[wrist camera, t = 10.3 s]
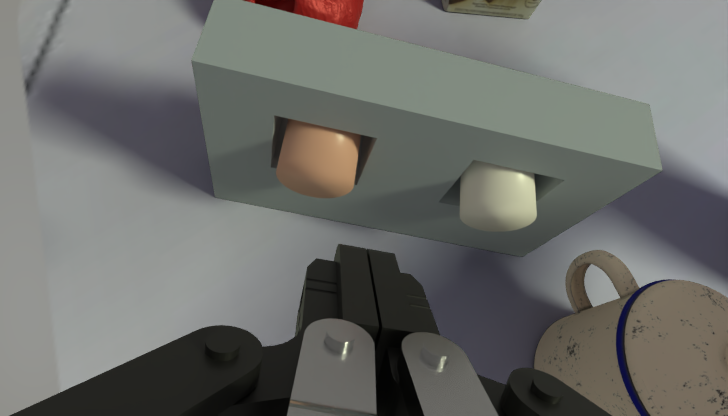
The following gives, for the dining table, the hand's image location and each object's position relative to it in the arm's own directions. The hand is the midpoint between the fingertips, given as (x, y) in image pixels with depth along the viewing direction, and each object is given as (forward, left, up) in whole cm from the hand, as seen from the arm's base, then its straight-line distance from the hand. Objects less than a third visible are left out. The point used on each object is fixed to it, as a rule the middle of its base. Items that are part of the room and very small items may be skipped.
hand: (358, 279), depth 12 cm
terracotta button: (+8, -8, -11) cm, 16 cm away
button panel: (+4, -11, -17) cm, 21 cm away
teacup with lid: (-13, -14, -17) cm, 26 cm away
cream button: (+1, -14, -11) cm, 18 cm away
